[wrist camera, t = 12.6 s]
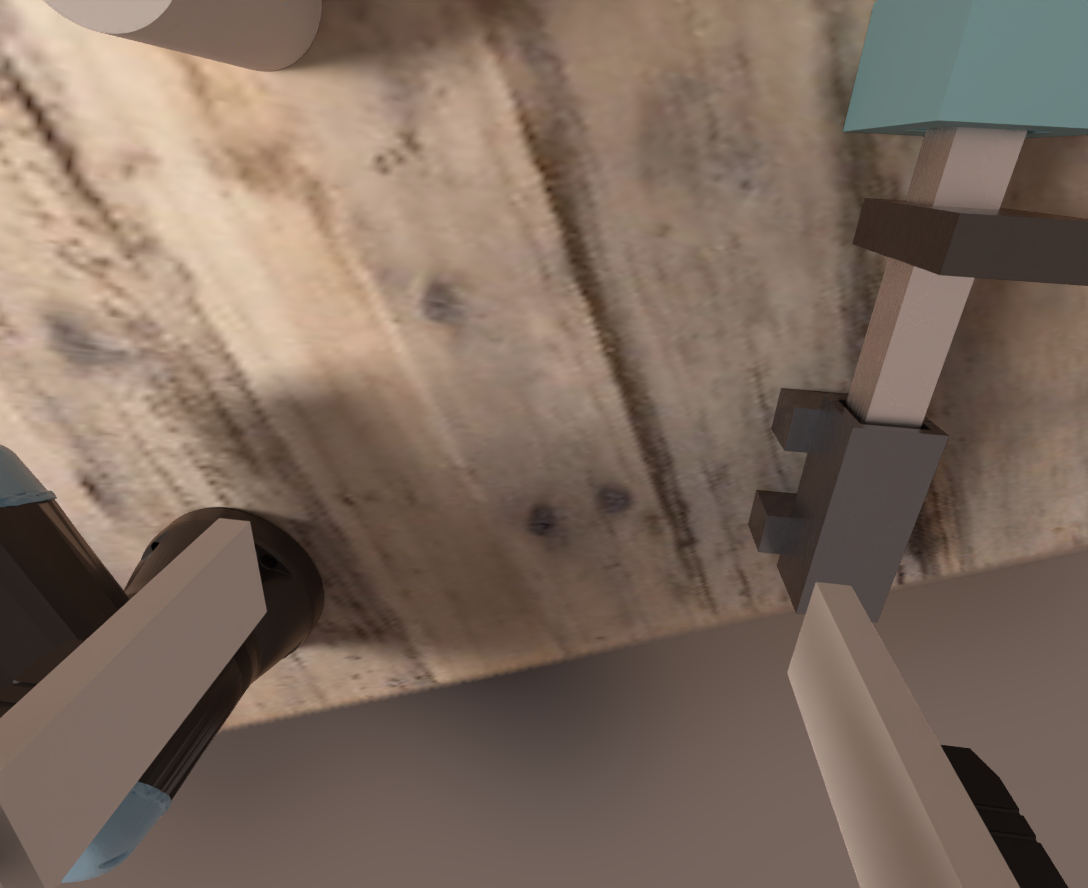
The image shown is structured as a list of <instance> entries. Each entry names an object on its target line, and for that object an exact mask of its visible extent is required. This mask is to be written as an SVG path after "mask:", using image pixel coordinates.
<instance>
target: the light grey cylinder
mask: <svg viewBox="0 0 1088 888" xmlns="http://www.w3.org/2000/svg"><path fill="white" fill-rule="evenodd" d="M43 1H44V2H46V3H47V4H48V5H49V6H50V7H51V8H53V9H54V10H55V11H57V12H58V13H59V14H61V15H62V16H64V17H65V18H67V19H68V20H70V21H72V22H74V23H76V24H78V25H80V26H82V27H85V28H87V29H90V30H94V31H97V32H101V33H105V34H109V35H113V36H117V37H121V38H126V39H130V40H134V41H138V42H142V43H146V44H150V45H154V46H158V47H162V48H166V49H170V50H174V51H178V52H182V53H186V54H190V55H194V56H198V57H202V58H206V59H211V60H215V61H219V62H223V63H227V64H231V65H235V66H239V67H243V68H247V69H251V70H256V71H276V70H280V69H283V68H286V67H288V66H290V65H292V64H293V63H295V62H296V61H297V60H299V59H300V58H301V57H302V56H303V55H304V54H305V52H306V51H307V50H308V49H309V47H310V46H311V44H312V42H313V40H314V38H315V36H316V33H317V31H318V27H319V24H320V19H321V13H322V0H43Z"/></svg>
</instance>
